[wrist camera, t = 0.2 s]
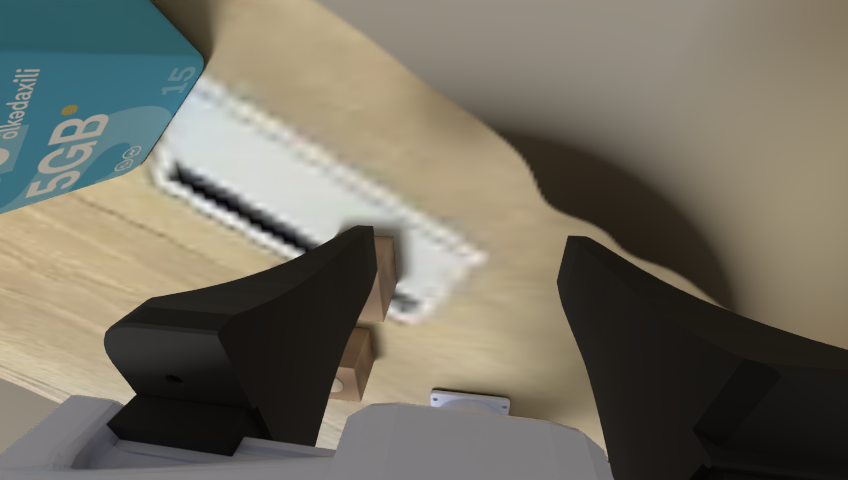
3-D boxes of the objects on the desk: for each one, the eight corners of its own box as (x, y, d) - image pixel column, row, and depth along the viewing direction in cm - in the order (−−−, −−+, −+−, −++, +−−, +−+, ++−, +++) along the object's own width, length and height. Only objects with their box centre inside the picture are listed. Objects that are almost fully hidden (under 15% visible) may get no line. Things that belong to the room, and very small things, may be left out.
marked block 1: (396, 283, 26) (383, 323, 22) (343, 279, 26) (320, 318, 22) (392, 236, 24) (376, 271, 20) (335, 233, 24) (307, 267, 20)
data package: (139, 170, 24) (-118, 254, 13) (82, 122, 22) (-255, 173, 12) (215, 54, 19) (-99, 44, 8) (148, -18, 17) (-327, -136, 7)
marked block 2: (374, 360, 31) (360, 403, 27) (330, 355, 32) (310, 397, 28) (369, 327, 29) (353, 370, 25) (322, 323, 29) (299, 364, 25)
